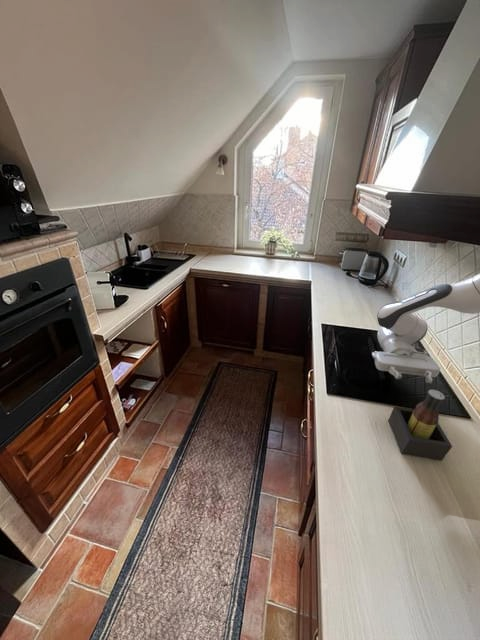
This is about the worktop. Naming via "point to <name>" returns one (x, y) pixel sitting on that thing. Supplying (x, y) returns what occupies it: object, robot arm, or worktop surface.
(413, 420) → the sauce bottle
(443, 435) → the caddy
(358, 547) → the worktop surface
